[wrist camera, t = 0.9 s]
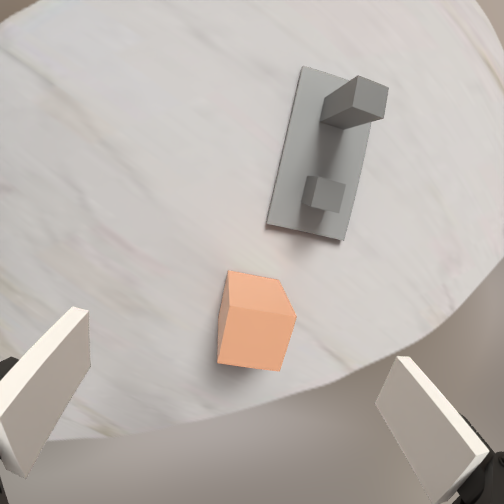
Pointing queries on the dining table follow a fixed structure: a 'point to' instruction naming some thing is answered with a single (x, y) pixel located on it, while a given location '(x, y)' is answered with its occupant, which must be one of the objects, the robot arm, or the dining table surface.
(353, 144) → the stand
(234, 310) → the orange block
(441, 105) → the dining table surface
